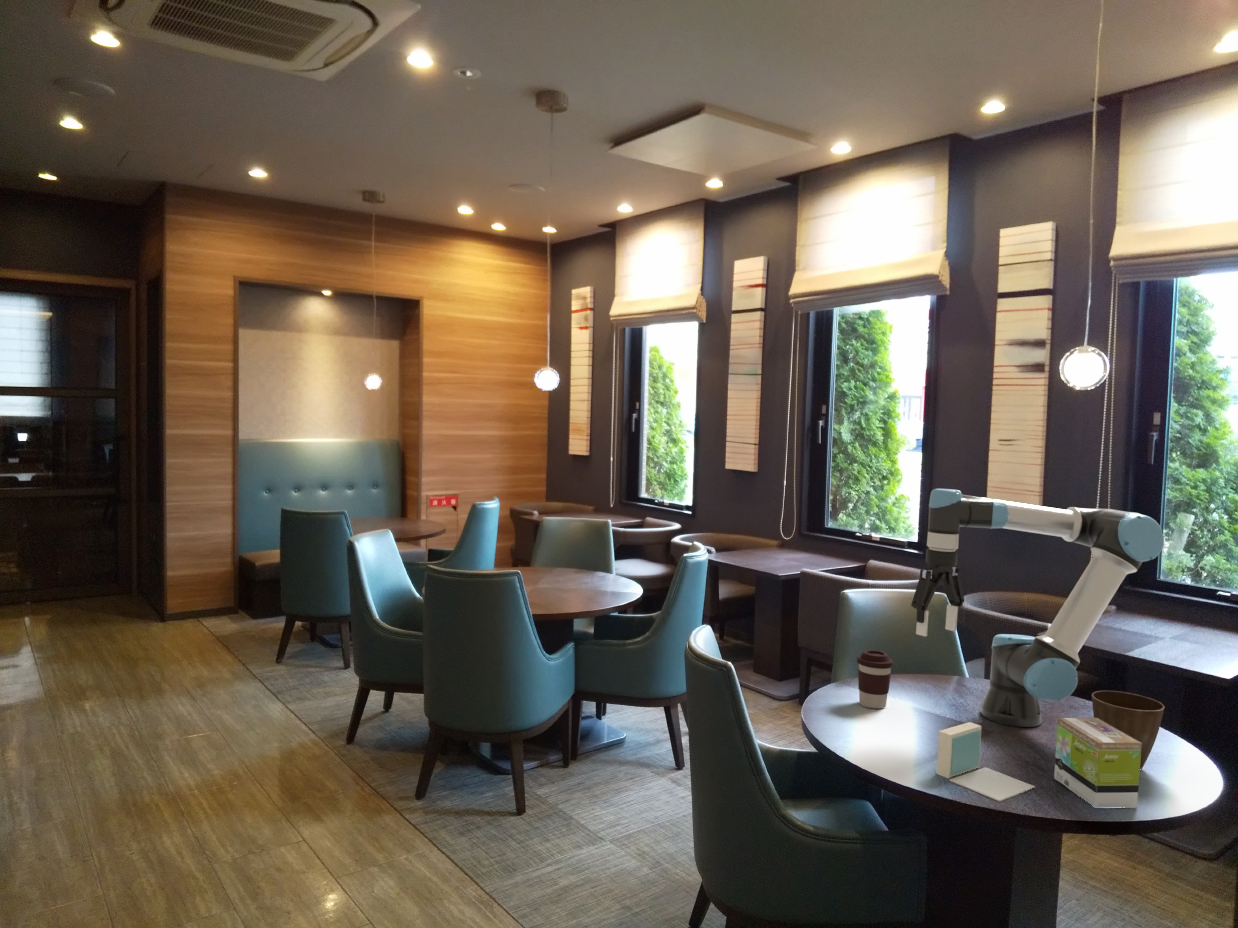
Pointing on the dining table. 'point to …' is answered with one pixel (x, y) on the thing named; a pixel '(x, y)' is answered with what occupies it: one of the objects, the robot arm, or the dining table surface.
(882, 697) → the coffee cup
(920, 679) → the dining table surface
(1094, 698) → the plant pot
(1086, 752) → the tea box
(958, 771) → the tile
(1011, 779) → the mat
